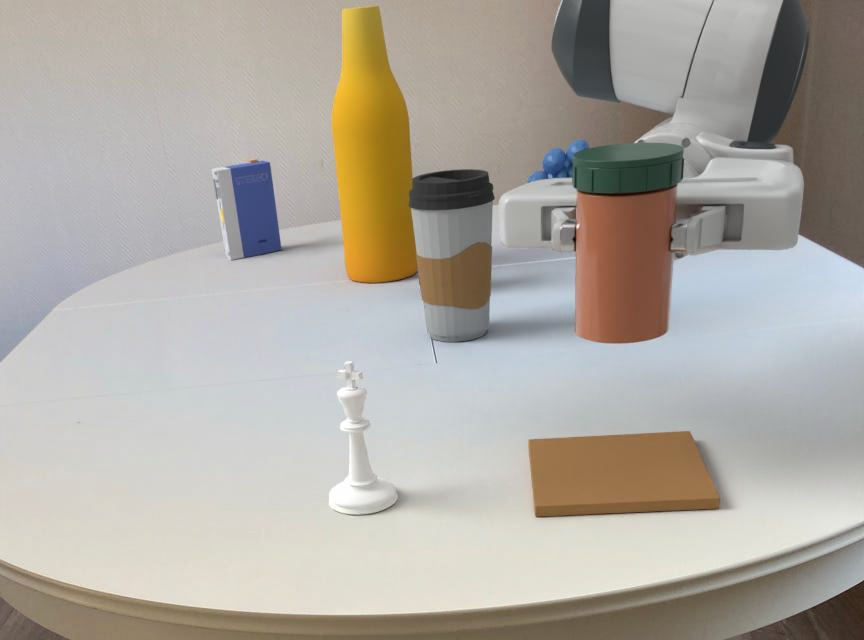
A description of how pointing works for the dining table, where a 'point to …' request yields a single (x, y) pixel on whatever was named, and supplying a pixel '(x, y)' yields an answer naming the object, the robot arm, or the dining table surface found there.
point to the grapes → (559, 162)
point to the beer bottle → (372, 155)
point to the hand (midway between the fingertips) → (622, 239)
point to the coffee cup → (454, 251)
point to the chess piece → (358, 456)
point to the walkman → (247, 209)
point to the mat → (619, 474)
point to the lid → (627, 167)
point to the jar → (624, 265)
